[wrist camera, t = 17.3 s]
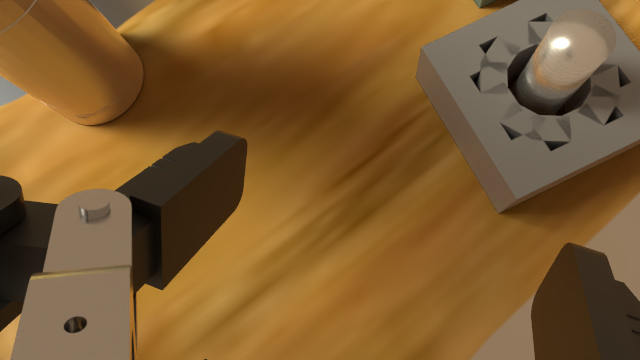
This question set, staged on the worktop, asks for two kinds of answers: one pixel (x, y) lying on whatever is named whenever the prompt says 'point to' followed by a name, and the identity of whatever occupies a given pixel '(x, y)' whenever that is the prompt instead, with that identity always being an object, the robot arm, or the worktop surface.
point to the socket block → (517, 121)
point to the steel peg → (564, 60)
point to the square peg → (483, 2)
